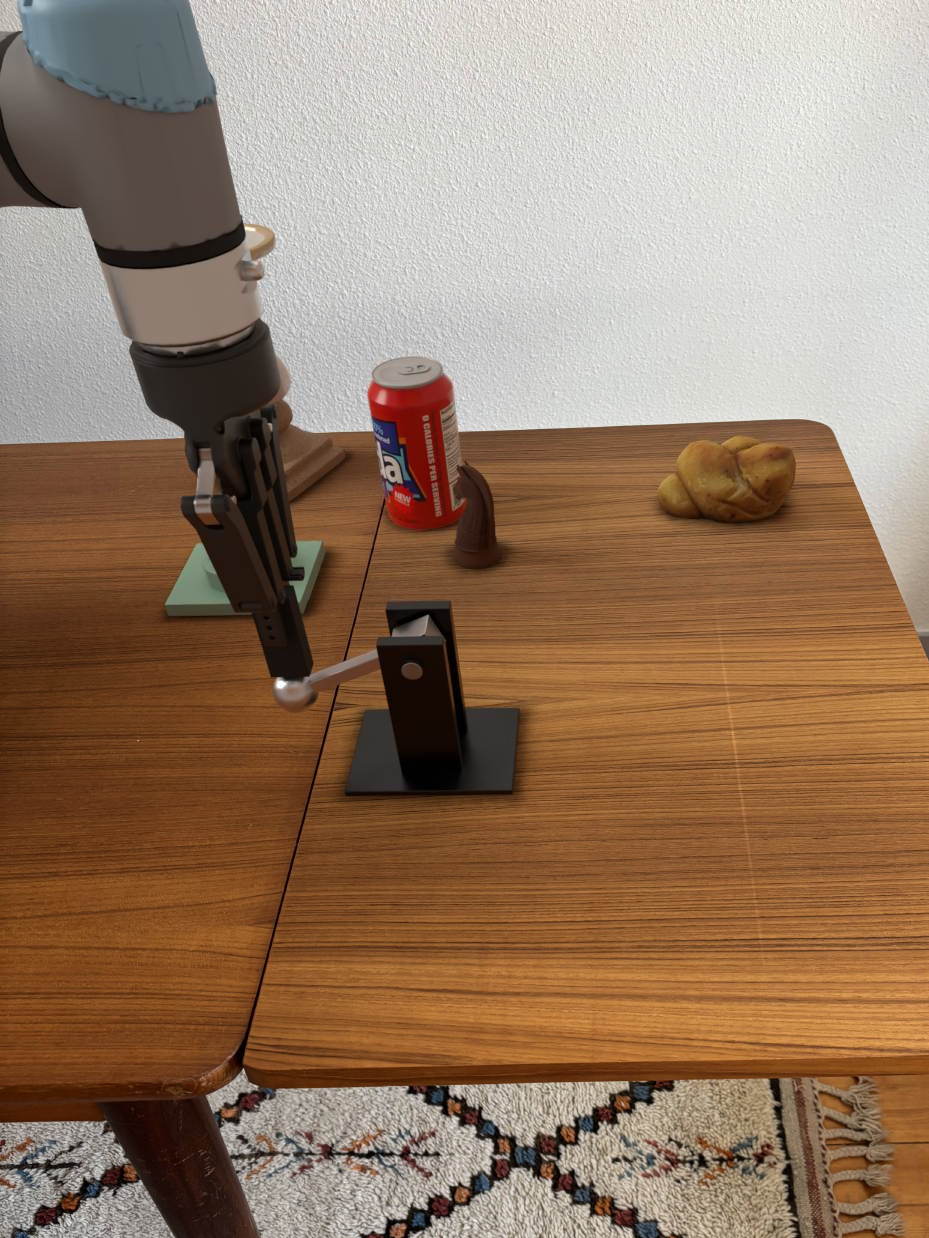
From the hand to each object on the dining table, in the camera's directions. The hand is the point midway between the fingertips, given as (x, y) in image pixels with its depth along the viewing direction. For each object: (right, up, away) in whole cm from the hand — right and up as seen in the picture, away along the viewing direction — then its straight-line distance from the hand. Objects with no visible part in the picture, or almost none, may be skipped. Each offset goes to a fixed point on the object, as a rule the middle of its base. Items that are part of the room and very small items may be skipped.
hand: (292, 670), depth 73 cm
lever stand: (+9, -6, +6) cm, 13 cm away
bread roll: (+34, +18, +31) cm, 50 cm away
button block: (-10, +9, +23) cm, 27 cm away
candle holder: (-12, +23, +39) cm, 47 cm away
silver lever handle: (+5, -1, +1) cm, 5 cm away
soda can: (+5, +18, +32) cm, 37 cm away
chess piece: (+11, +12, +25) cm, 30 cm away
